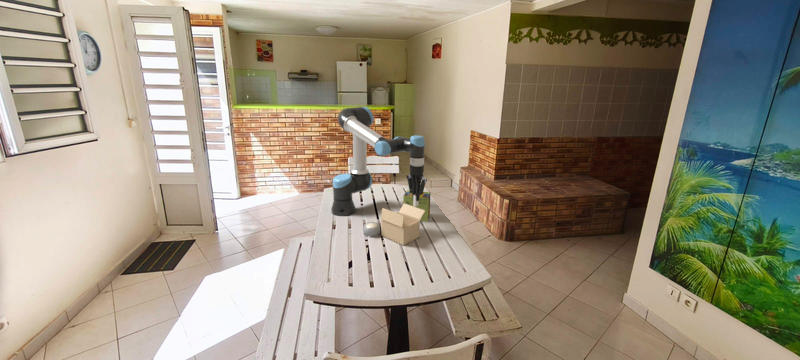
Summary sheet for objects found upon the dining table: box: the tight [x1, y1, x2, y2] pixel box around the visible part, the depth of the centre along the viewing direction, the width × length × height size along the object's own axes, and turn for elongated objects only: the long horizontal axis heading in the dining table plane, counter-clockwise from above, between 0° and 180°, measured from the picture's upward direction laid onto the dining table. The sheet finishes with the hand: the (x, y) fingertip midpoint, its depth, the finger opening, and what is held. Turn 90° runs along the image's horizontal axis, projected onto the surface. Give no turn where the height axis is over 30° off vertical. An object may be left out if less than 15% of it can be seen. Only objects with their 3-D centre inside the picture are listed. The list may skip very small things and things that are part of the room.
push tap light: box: [363, 221, 381, 238], centre depth 188 cm, size 9×9×5 cm
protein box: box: [402, 190, 431, 223], centre depth 208 cm, size 10×15×16 cm
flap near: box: [380, 207, 404, 227], centre depth 177 cm, size 15×6×1 cm
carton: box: [380, 211, 421, 246], centre depth 184 cm, size 17×13×10 cm
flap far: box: [398, 204, 425, 220], centre depth 189 cm, size 15×6×1 cm
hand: (415, 205), depth 190 cm, fingers closed
